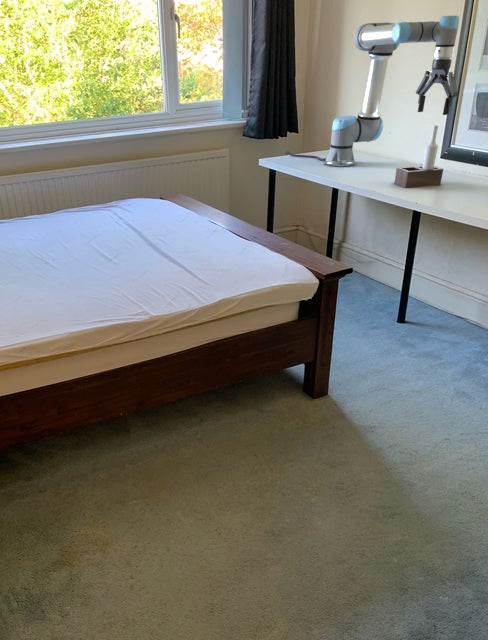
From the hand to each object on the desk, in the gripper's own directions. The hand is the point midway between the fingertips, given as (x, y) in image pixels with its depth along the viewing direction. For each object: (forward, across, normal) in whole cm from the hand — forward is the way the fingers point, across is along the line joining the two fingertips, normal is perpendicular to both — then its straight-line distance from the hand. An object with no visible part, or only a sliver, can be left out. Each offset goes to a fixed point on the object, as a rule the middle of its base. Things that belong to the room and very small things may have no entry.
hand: (432, 113), depth 263 cm
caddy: (+30, +1, -3) cm, 30 cm away
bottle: (+30, +2, +1) cm, 30 cm away
